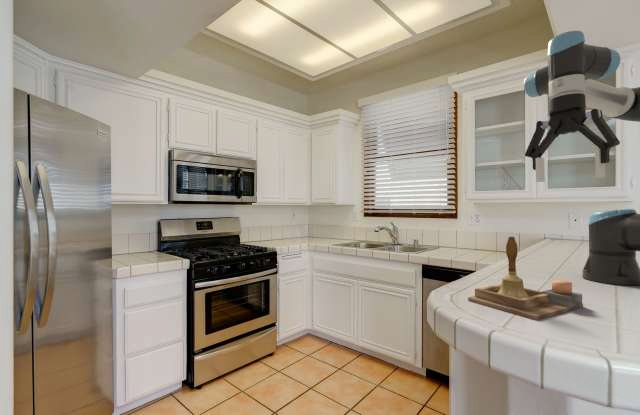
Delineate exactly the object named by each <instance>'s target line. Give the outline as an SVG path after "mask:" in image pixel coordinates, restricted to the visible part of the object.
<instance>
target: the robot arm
mask: <svg viewBox="0 0 640 415" xmlns="http://www.w3.org/2000/svg"><path fill="white" fill-rule="evenodd" d="M585 41H586V39H585V34H584V32H583V31H581V30H570V31H566V32H565V31H564V32H562V33H560V34H557V35H556V36H553V37H552V38H551V39H550V40H549V42H548V44H547V56H546V57H547V66H545V67H542V68H540V69H537V70H535V71H533V72H531V73H529V74H527V76H526V77H525V78H524V80H523V90H524V92H525V94H526V95H527V96H529V97H531V98H536V97H541V96H543V95H546V96H548V98H549V99H550V100H549V101H548V115H549V118H548V120H545V121H543V120H537V122H536V125H535V129H534V132H533V135H532V136H531V140H530V142H529V143H528V146H527V149H526V151H525V153H524V157H526V158H531V159H532V170H533V171H535V182H536V183H537V182H538V183H544V182H546V181H545V158H544V157H543V155H544V154H545V153H546V151H547V150H548V148H549V147H550V146H551V145H552V143H554V141H555V139H556V138H558V137H559V136H560V135H561V136H562V135H567V134H569V133H572V134H573V133H577V132H579V133H580V134H582V135H583V136H584V137H585V138H586V139H588V140H589V141H590V142H591V143H592V144H594V145H595V146H596V147H597V148H598V149H596V150H595V151H594V154H595V156H594V157H595V159H594V160H595V178H596V179H602V178H603V179H605V178H606V164H609V162H610V161H611V159H610V150H611V148H613V147H616V146H619V145H620V144H621V141H620V140H619V138H618V137H617V136H616V134H615V133H614V132H613V130H612V128H611V127H610V126H609V124H608V123H607V121H606V120H605V119H604V117H603V115H604V116H606V117H609V118H612V119H616V120H621V121H627V122H639V123H640V86H638V87H634V88H633V87H631V88H630V87H628V86H627V87H626V86H620V87H615V86H613V85H609V84H605V83H603V82H600V81H598V80H603V79H607V78H609V77H610V76H612V75H613V74H614V73H615V72H616V71H617V70H618V68H619V66H620V65H621V55H620V54H619V52H618V51H617V50H615V49H612V48H610V47H607V46H604V47H603V46H597V45H590V44H586V42H585ZM586 107H588V108H591V110H590V111H586ZM588 118H589V120H592V122H593V123H594V125H595V126H596V128H597V129H598V130H599V132H600V134H601V135H602V136H603V138H604V139H605V140H604V139H603V138H602V137H600V136H599V135H597V134H596V133H595V132H594V131H593V130H591V129H590V127H589V126H587V125H586V124H585V122H586V120H587V119H588ZM548 127H550V128H549V130H548V132H547V133H546V135H545V132H546V129H548ZM544 135H545V137H544ZM543 137H544V138H543ZM542 138H543V140H542ZM588 219H589V220H588V225H587V226H588V257H587V260H586V261H585V264H584V267H583V268H582V272H581V273H582V278H583V279H585V280H589V281H591V282H592V281H593V282H598V283H603V284H610V285H622V286H623V285H624V286H640V266H639V263H638V260H637V259H636V257H637V252H640V213H638V212H637V211H636V210H635V209H633V208H631V209H629V208H627V209H614V210H611V209H610V210H602V211H595V212H592V213H591V214H590V215H589V218H588Z"/></svg>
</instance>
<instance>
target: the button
mask: <svg viewBox="0 0 640 415" xmlns="http://www.w3.org/2000/svg"><path fill="white" fill-rule="evenodd" d="M551 289H552V291H553V292H556V293H562V294H572V292H573V283H572V282H571V281H567V280H560V279H558V280H557V279H554V280H552V281H551Z"/></svg>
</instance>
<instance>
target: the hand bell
mask: <svg viewBox="0 0 640 415" xmlns="http://www.w3.org/2000/svg"><path fill="white" fill-rule="evenodd" d="M505 253H506V257H507V262H508V274H507V275H506V276H503V277H502V282H501V284H502V285H501V288H500V290H499V292H498V293H499V294H503V295H507V296H511V297H515V298H520V299H521V298H526V297H529V296H528V295H527V294H526V292H525V289H524V288H525V287H524V280H523V278H521V277H520V276H518V275H517V269H516V268H517V267H516V261H517V257H518V244H517V240H516V238H515V236H508V238H507V242H506V246H505Z"/></svg>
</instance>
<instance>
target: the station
mask: <svg viewBox="0 0 640 415" xmlns="http://www.w3.org/2000/svg"><path fill="white" fill-rule="evenodd" d="M501 285H502V283H500V284H495V285H494V284H493V285H488V286H483V287H478V288H474V295H473V296H472V295H471V296H469V297H467V301H469V302H473V303H476V304H480V305H483V306H485V307H486V306H487V307H490V308H493V309H496V310H500V311H503V312H507V313H510V314H514V315H518V316H522V317H524V318H527V319H528V318H529V319H532V320H536V321H538V320H542V319H545V318H549V317H552V316H555V315H556V316H557V315H559V314H563V313H566V312H570V311H573V310H576V309H580V308H581V309H582V308H583V307H584V303H583V293H580V292H579V293H578V292H576V291H575V292H574V291H572V294H562V293H556V292H553V291H552V288H551V289H547V290H542V291H540V290H536V289H531V288H526V287H524V289H525V292H526V294H527V295H528V296H529V297H526V298H521V299H520V298H515V297H511V296H507V295H503V294H499V293H498V292H499V290H500V288H501Z"/></svg>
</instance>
